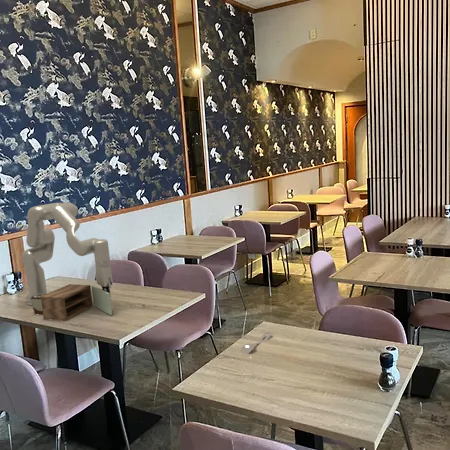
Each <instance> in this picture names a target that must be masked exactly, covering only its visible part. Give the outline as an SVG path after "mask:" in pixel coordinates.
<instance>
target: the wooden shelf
mask: <svg viewBox="0 0 450 450" xmlns="http://www.w3.org/2000/svg"><path fill="white" fill-rule="evenodd" d="M91 286H92V285H91V284H74V283H72V284H71V283H70V284H67V285H65V286H62V287H60V288H57V289H55V290H53V291H50V292H47V294H46V295H43V296H41V303H42V309H43V315H42V316H43V320H48V319H52V320H51V321H60V320H63V321H62V322H67V321H68V320H71V319H72V318H74V317H76V316H78V315H80V314H82V313H84V312H85V311H88V310H89V309H91V308H93V307H94V304H93V296H92V288H91ZM66 320H67V321H66Z"/></svg>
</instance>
